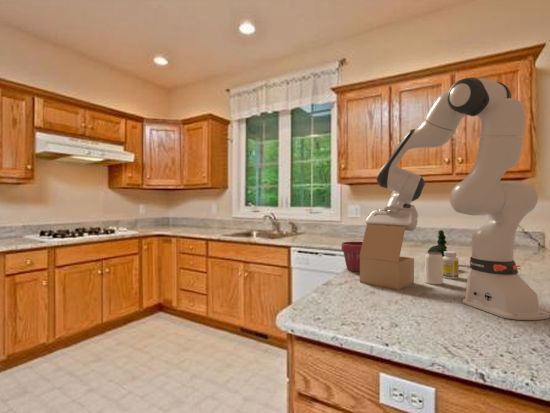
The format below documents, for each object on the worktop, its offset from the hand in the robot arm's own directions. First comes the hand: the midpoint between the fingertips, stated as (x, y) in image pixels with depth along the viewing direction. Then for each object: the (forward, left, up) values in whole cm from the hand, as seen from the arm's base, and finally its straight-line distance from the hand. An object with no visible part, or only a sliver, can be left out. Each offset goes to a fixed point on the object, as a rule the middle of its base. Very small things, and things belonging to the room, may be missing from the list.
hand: (384, 235), depth 128 cm
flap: (-1, +2, -3) cm, 3 cm away
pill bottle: (+7, -32, -19) cm, 38 cm away
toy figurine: (+30, -41, -19) cm, 54 cm away
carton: (+1, -2, -19) cm, 19 cm away
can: (-1, -20, -19) cm, 28 cm away
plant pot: (+26, +2, -19) cm, 33 cm away
